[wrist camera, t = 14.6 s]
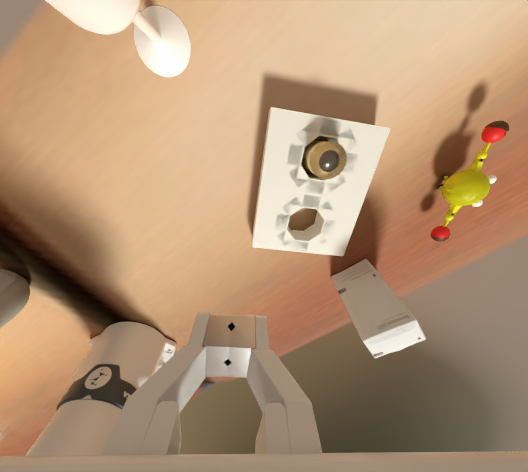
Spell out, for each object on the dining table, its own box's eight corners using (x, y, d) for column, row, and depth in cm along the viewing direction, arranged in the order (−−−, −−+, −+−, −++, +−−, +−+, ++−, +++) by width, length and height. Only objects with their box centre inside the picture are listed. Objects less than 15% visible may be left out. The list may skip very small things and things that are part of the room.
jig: (335, 245, 39) (343, 256, 36) (252, 236, 38) (252, 247, 34) (374, 128, 31) (390, 128, 27) (268, 110, 29) (271, 106, 25)
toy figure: (433, 231, 39) (466, 249, 33) (406, 229, 39) (435, 247, 33) (488, 124, 31) (545, 122, 25) (455, 120, 31) (504, 117, 25)
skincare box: (365, 257, 41) (419, 316, 28) (376, 276, 43) (430, 339, 30) (328, 277, 43) (362, 341, 30) (340, 294, 45) (376, 362, 32)
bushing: (323, 172, 33) (340, 181, 27) (297, 168, 33) (308, 176, 26) (331, 142, 31) (351, 144, 25) (303, 138, 31) (316, 139, 25)
